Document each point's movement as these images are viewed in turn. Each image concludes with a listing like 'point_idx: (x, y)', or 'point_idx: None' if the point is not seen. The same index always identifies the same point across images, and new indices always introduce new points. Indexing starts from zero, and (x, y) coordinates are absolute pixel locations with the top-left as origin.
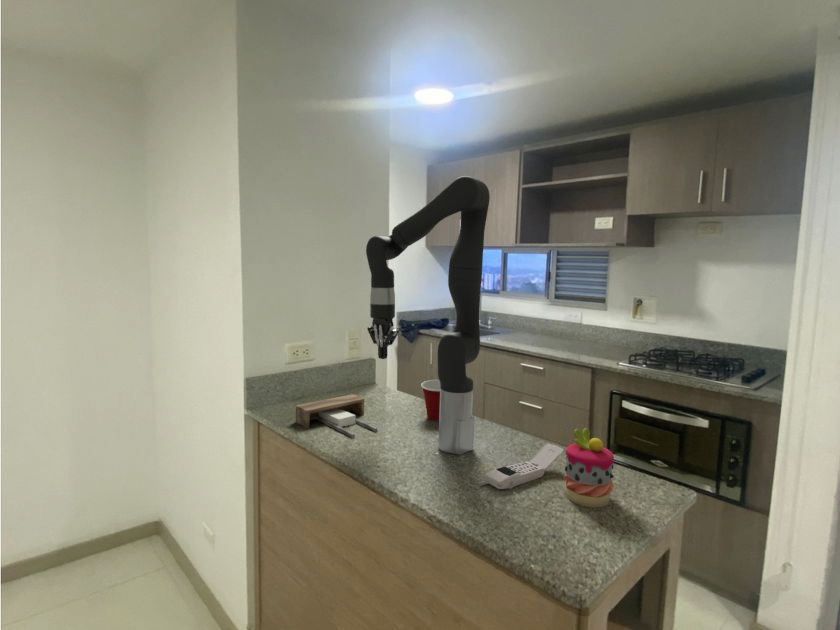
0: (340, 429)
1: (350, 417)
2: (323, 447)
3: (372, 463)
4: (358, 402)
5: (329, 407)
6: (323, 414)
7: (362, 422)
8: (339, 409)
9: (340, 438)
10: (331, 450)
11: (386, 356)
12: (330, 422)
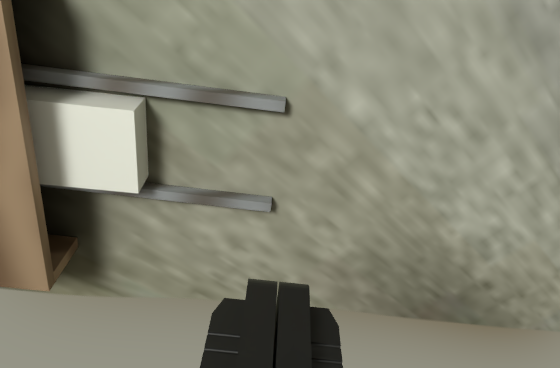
0: (187, 200)
1: (137, 136)
2: None
3: (460, 283)
4: (13, 19)
5: (37, 194)
6: None
7: (183, 97)
8: None
9: (243, 231)
10: None
11: (329, 321)
12: None
